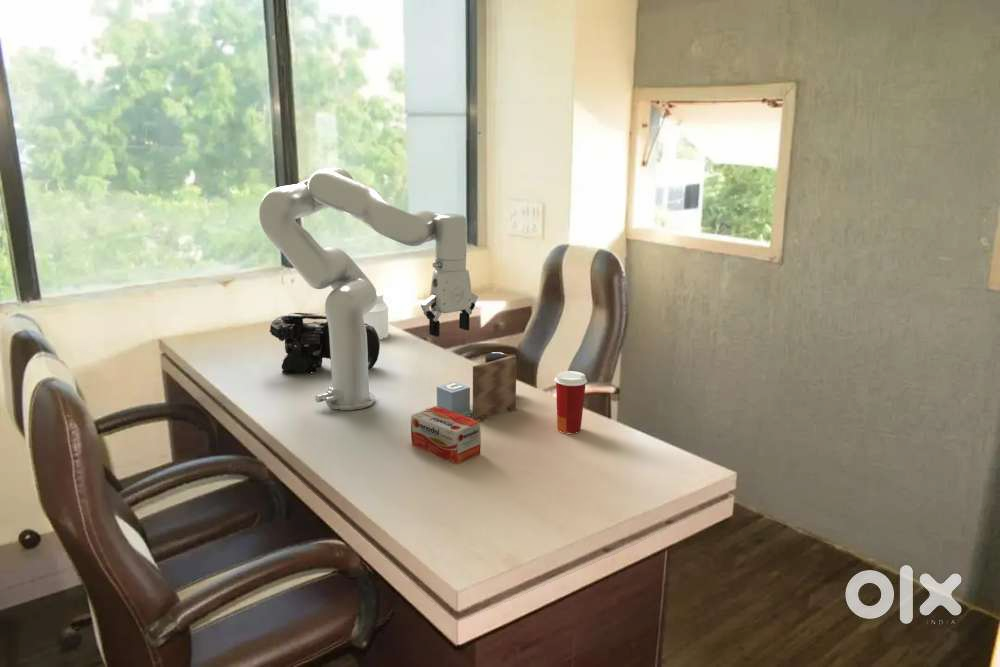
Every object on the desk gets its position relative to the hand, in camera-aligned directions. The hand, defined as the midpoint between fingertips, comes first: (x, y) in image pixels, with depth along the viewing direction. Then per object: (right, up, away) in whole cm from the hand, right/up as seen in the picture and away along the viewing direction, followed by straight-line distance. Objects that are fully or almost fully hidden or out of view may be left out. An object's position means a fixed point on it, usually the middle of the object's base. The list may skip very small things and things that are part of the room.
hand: (449, 332), depth 193 cm
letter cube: (+1, -20, +5) cm, 20 cm away
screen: (+11, -21, +4) cm, 24 cm away
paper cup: (+29, -24, -5) cm, 38 cm away
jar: (-32, -1, +73) cm, 79 cm away
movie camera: (-40, -12, +36) cm, 55 cm away
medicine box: (0, -27, -18) cm, 32 cm away
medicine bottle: (+12, -18, +17) cm, 27 cm away
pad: (+1, -20, +5) cm, 21 cm away
